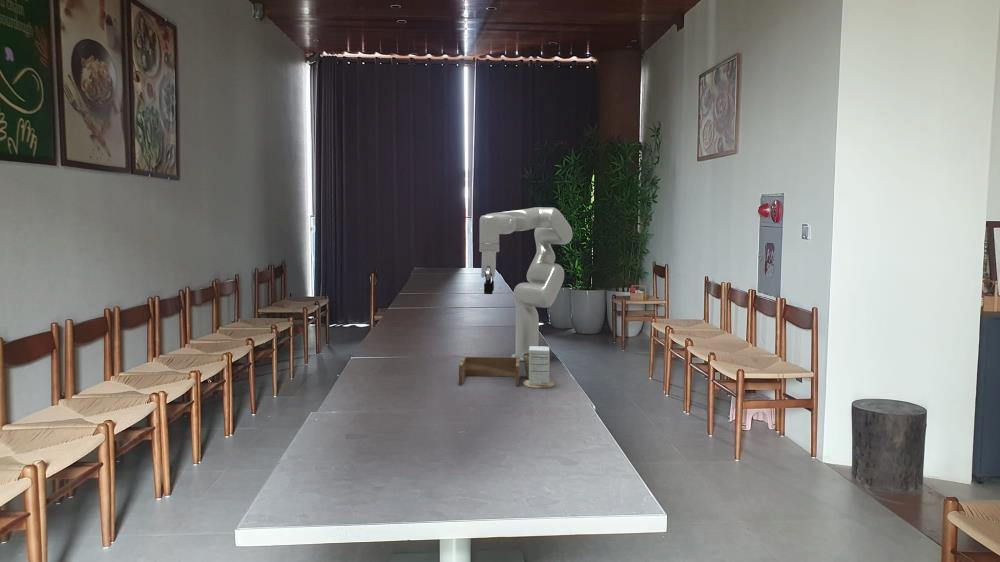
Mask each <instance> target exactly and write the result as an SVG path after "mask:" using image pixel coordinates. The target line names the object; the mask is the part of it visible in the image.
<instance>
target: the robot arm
mask: <svg viewBox="0 0 1000 562" xmlns="http://www.w3.org/2000/svg"><path fill="white" fill-rule="evenodd" d="M533 229H534V240H535V246H536V247H535V248H536V253H535V255H534V257H533V260H532V262H531V263H530V265H529V268H528V270H527V273H526V280H527V282H520V283H518V284H517V285H516V286H515V287H514V288H513V289H514V290H513V299H514V306H515V308H514V309H515V350H514V351H515V353H512V354H511V357H520V362H524V359H523V356H522V354H523V353H527V352H529V347H530V346H539V329H540V328H539V326H540V325H539V323H540V321H539V320H540V319H539V318H540V317H539V313H538V311H537V308H544V309H545V308H550V307H551V306H553V304H554V302H555V300H556V298H557V296H558V294H559V292H560V290H561V287H562V285H563V283H564V280H565V270H564V268H563V267H562V265H560V264H558V263H555V261H556V254H555V252H554V250H553V248H552V245H568V244H569V243H570V242H571V241H572V239H573V229H572V227H571V225H570V224H569V222H568V221H567V220H566V218H565V216H564V215H563V214H562V212H561V211H560V210H559V209H557V208H556V207H548V206H547V207H546V206H545V207H541V206H538V207H536V206H535V207H530V208H523V209H518V210H509V211H501V212H500V211H499V212H491V213H486V214H484V215H480V218H479V249H478V251H479V252H480V253H481V268H480V269H481V274H480V275H481V278H482V279H483V278H484V284H483V293H484V294H483V295H492V294H493V292H494V291H495V289H494V288H495V281H494V277H495V275H496V267H497V264H496V262H497V253H499V252H500V235H508V234H512V233H513V232H523V231H529V230H533Z"/></svg>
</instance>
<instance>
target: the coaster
mask: <svg viewBox="0 0 1000 562" xmlns="http://www.w3.org/2000/svg"><path fill="white" fill-rule="evenodd" d="M523 386H524V387H528V388H533V389H548V388H552V387H554V386H555V382H554V381H552V380H551V379H549V385H529V379H526V380H524V381H523Z"/></svg>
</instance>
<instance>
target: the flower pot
mask: <svg viewBox="0 0 1000 562" xmlns="http://www.w3.org/2000/svg"><path fill="white" fill-rule="evenodd" d="M522 356H523V359H524V361H523V362H524V368H525V377H526V378H527V379H529V352H527V353H523V354H522Z"/></svg>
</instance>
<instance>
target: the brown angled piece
mask: <svg viewBox="0 0 1000 562" xmlns="http://www.w3.org/2000/svg"><path fill="white" fill-rule="evenodd" d="M520 363H521V361H520V357H512V356H509V357H507V356H504V357H503V356H462V357H461V359H460V362H459V365H458V385H459V386H463V384H464V382H465V378H466V377H467V376H469V377H472V376H473V377H515V387H520V371H521V370H520V367H521V365H520Z"/></svg>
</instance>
